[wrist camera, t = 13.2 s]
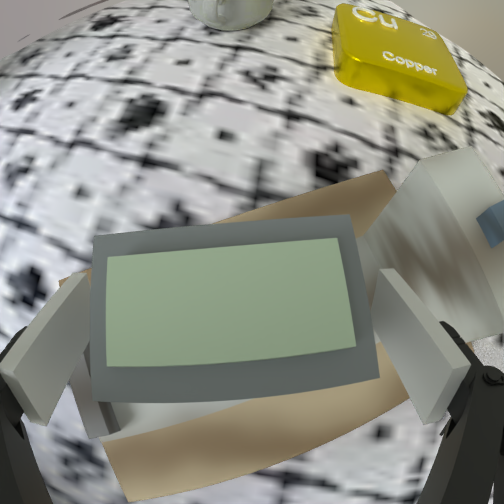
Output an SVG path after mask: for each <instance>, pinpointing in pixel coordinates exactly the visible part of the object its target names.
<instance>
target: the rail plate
mask: <svg viewBox="0 0 504 504" xmlns="http://www.w3.org/2000/svg"><path fill="white" fill-rule="evenodd" d="M346 214H350V217H351V222H352V226H353V230H354V234H355V238H356V243H357V247H358V252H359V256H360V261H361V266H362V271H363V276H364V281H365V286H366V291H367V296H368V302H369V307H370V312H371V307H372V303H373V298H374V293H375V288H376V283H377V277H378V272H379V269H391V268H394V269H395V270H396V271H397V273H398V274H399V275H400V276H401V277H402V278H403V279H404V281H405V282H406V283H407V284H408V285H409V286H410V288H411V289H412V290H413V291H414V292H415V294H416V295H417V296H418V297H419V298H420V300H421V301H422V302H423V303H424V304H425V306H426V307H427V308H428V309H429V310H430V312H431V313H432V314H433V315H434V317H435V318H436V319H437V320H438V322H440V321H445V322H446V323H448V324H449V325H450V326H452V327H453V328H454V329H455V330H456V331H457V332H458V334H459V335H460V338H461V337H462V339H463V340H464V341H465V344H467V345H468V346H469V348H470V349H471V350H472V351H473V353H474V349H473V347H472V344H471V341H475V340H479V339H482V338H486V337H490V336H494V335H497V334H501V333H504V195H503V194H502V192H501V190H500V189H499V187H498V185H497V184H496V182H495V181H494V179H493V177H492V176H491V174H490V173H489V171H488V170H487V168H486V167H485V165H484V164H483V162H482V161H481V159H480V158H479V156H478V155H477V153H476V152H475V151H474V149H473V148H472V146H470V147H466V148H462V149H458V150H454V151H450V152H447V153H443V154H439V155H435V156H432V157H428V158H424V159H421V160H419V161H418V163H417V164H416V166H415V167H414V169H413V170H412V171H411V173H410V174H409V176H408V177H407V178H406V180H405V181H404V182H403V184H402V185H401V187H400V188H399V189H398V191H396V190H395V188H394V186H393V185H392V183H391V182H390V180H389V178H388V177H387V175H386V174H385V172H384V171H383V170H380V171H377V172H373V173H370V174H367V175H363V176H360V177H356V178H353V179H350V180H346V181H343V182H340V183H337V184H333V185H330V186H327V187H323V188H320V189H317V190H314V191H311V192H307V193H304V194H301V195H298V196H295V197H292V198H288V199H285V200H282V201H279V202H276V203H273V204H270V205H267V206H264V207H261V208H258V209H255V210H252V211H249V212H246V213H243V214H240V215H237V216H234V217H231V218H228V219H225V220H222V221H219V222H216V223H213V224H220V223H232V222H244V221H257V220H270V219H284V218H298V217H313V216H329V215H346ZM91 269H92V268H90V269H87V270H85V271H82V272H79V273H87V276H88V280H89V284H90V287H91ZM69 277H70V276H69ZM69 277H67V278H64V279H62V280H59V286H60V287H61V286H62V285H63V283H64V282H65V281H66V280H67V279H68V278H69ZM373 331H374V338H375V344H376V351H377V358H378V366H379V374H380V378H377V379H373V380H368V381H364V382H359V383H354V384H349V385H344V386H338V387H333V388H327V389H321V390H315V391H309V392H302V393H295V394H288V395H280V396H271V397H262V398H253V399H242V400H229V401H214V402H193V403H120V402H100V401H92V387H91V370H90V341H89V343H88V345H87V346H86V348H85V350H84V352H83V354H82V356H81V358H80V359H79V361H78V363H77V365H76V367H75V369H74V371H73V373H72V375H71V377H70V379H69V380H70V384H71V387H72V391H73V394H74V397H75V401H76V404H77V407H78V410H79V413H80V416H81V419H82V422H83V425H84V427H85V430H86V433H87V436H88V438H89V439H92V438H97V437H99V439H100V442H101V443H102V444H103V447H104V449H105V452H106V454H107V456H108V459H109V461H110V464H111V466H112V468H113V470H114V473H115V475H116V477H117V479H118V481H119V484H120V486H121V488H122V490H123V492H124V494H125V496H126V498H127V500H128V502H134V501H140V500H146V499H152V498H157V497H163V496H168V495H172V494H177V493H182V492H186V491H190V490H194V489H198V488H202V487H206V486H210V485H214V484H217V483H221V482H224V481H227V480H231V479H234V478H237V477H240V476H244V475H247V474H250V473H253V472H256V471H258V470H261V469H264V468H267V467H270V466H272V465H275V464H278V463H280V462H283V461H285V460H288V459H290V458H293V457H295V456H298V455H300V454H303V453H305V452H307V451H310V450H312V449H314V448H317V447H319V446H321V445H323V444H325V443H327V442H330V441H332V440H334V439H336V438H338V437H340V436H342V435H344V434H346V433H348V432H350V431H352V430H354V429H356V428H358V427H360V426H362V425H364V424H366V423H367V422H369V421H371V420H373V419H375V418H377V417H378V416H380V415H382V414H384V413H385V412H387V411H389V410H391V409H392V408H394V407H396V406H397V405H399V404H401V403H402V402H404V401H405V400H407V399H409V398H410V397H409V395H408V393H407V391H406V389H405V387H404V385H403V383H402V381H401V379H400V377H399V375H398V373H397V371H396V369H395V367H394V365H393V363H392V362H391V360H390V358H389V356H388V354H387V352H386V350H385V348H384V346H383V345H382V343H381V341H380V339H379V337H378V335H377V334H376V332H375V330H374V328H373Z"/></svg>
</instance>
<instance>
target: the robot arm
mask: <svg viewBox="0 0 504 504" xmlns="http://www.w3.org/2000/svg"><path fill="white" fill-rule="evenodd" d="M370 313H371V319H372V325H373V328H374V330H375V332H376V334H377V335H378V337H379V339H380V341H381V343H382V345H383V346H384V348H385V350H386V352H387V354H388V356H389V358H390V360H391V362H392V363H393V365H394V367H395V369H396V371H397V373H398V375H399V377H400V379H401V381H402V383H403V385H404V387H405V389H406V391H407V393H408V395H409V397H410V399H411V401H412V403H413V405H414V407H415V409H416V411H417V413H418V415H419V417H420V419H421V421H422V423H423V425H425V424H429V423H433V422H436V421H440V420H441V419H442V417H443V415H444V414H445V412H446V410H448V412H449V413H450V415H451V418H450V419H449V421H448V422H447V424H446V425H445V427H444V429H443V430H442V432H441V433H440V435H441V436H442V435H443V434H444V435H443V438H442V441H441V444H440V447H439V450H438V453H437V456H436V458H435V461H434V464H433V466H432V469H431V471H430V474H429V476H428V479H427V481H426V484H425V486H424V488H423V491H422V493H421V495H420V497H419V499H418V502H417V504H488V501H489V497H490V494H491V490H492V486H493V482H494V494H493V504H504V373H503V372H501V371H500V370H499V369H497V368H495V367H493V366H483V364H482V363H481V362H480V360H479V359H478V358H477V357H476V355H475V354H474V353H473V351H472V350H471V349H470V348H469V346H468V345H467V344H465V341H464V340H463V339H462V337H461V338H460V335H459V334H458V332H457V331H456V330H455V329H454V328H453V327H452V326H450V325H449V324H448V323H446V322H445V321H440V322H438V320H437V319H436V318H435V317H434V315H433V314H432V313H431V312H430V310H429V309H428V308H427V307H426V306H425V304H424V303H423V302H422V301H421V300H420V298H419V297H418V296H417V295H416V294H415V292H414V291H413V290H412V289H411V288H410V286H409V285H408V284H407V283H406V282H405V281H404V279H403V278H402V277H401V276H400V275H399V274H398V273H397V271H396V270H395V269H394V268H391V269H379V272H378V277H377V283H376V288H375V293H374V298H373V303H372V307H371V312H370ZM89 341H90V284H89V280H88V276H87V273H72V274H71V276H70V277H69V278H68V279H67V280H66V281H65V282H64V283H63V285H62V286H61V287H60V288H59V289H58V290H57V292H56V293H55V294H54V295H53V296H52V297H51V299H50V300H49V301H48V302H47V303H46V305H45V306H44V307H43V308H42V309H41V311H40V312H39V313H38V314H37V316H36V317H35V318H34V319H33V321H32V322H31V323H30V324H29V326H25V327H24V328H23V329H21V330H20V331H18V332H17V333H16V334H15V335H14V337H13V338H12V339H11V341H10V343H8V345H7V346H6V347H5V349H4V350H3V351H2V352H1V354H0V504H53V502H52V500H51V498H50V496H49V493H48V491H47V489H46V486H45V484H44V481H43V479H42V476H41V474H40V471H39V468H38V466H37V463H36V460H35V457H34V454H33V451H32V448H31V445H30V442H29V439H28V436H27V433H26V429H25V426H24V423H23V422H22V420H21V419H20V418H21V416H22V414H23V412H24V413H25V414H26V416H27V417H28V419H29V420H30V422H32V423H35V424H39V425H43V426H47V424H48V422H49V420H50V418H51V415H52V413H53V411H54V409H55V407H56V405H57V403H58V401H59V399H60V397H61V395H62V393H63V391H64V389H65V387H66V385H67V383H68V381H69V379H70V377H71V375H72V373H73V371H74V369H75V367H76V365H77V363H78V361H79V359H80V358H81V356H82V354H83V352H84V350H85V348H86V346H87V345H88V343H89Z"/></svg>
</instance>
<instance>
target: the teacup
mask: <svg viewBox="0 0 504 504" xmlns="http://www.w3.org/2000/svg"><path fill="white" fill-rule="evenodd" d="M273 1H274V0H188V3H189V8H190V11H191V13H192V15H193V16H194V17H195V18H196V19H197V20H199V21H201V22H202V23H204V24H205V25H207V26H209V27H211V28H214V29H219V30H227V31H234V30H242V29H246V28H249V27H251V26H253V25H255V24H257V23H259V22H261V21H262V20H264V19H265V18H266V17H267V16H268V15H269V13H270V11H271V9H272V5H273Z"/></svg>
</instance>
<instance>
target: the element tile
mask: <svg viewBox="0 0 504 504" xmlns="http://www.w3.org/2000/svg"><path fill="white" fill-rule="evenodd" d="M331 30H332V43H333V58H334V73H335V76H336V78H337V79H338V80H339V81H340V82H341V83H343V84H344V85H347V86H349V87H351V88H355V89H359V90H363V91H367V92H371V93H375V94H379V95H383V96H386V97H390V98H394V99H397V100H401V101H404V102H407V103H411V104H414V105H417V106H420V107H424V108H427V109H430V110H433V111H436V112H438V113H441V114H445V115H453V114H454V113H455V111H456V110H457V108H458V107H459V105H460V104H461V102H462V101H463V99H464V97H465V96H466V94H467V91H468V89H467V86H466V83H465V81H464V79H463V77H462V75H461V73H460V71H459V69H458V67H457V65H456V63H455V61H454V59H453V57H452V55H451V54H450V52H449V50H448V48H447V46H446V45H445V43H444V41H443V39H442V38H441V37H440V35H439V34H438V33H437V32H435V31H434V30H431V29H429V28H426V27H424V26H421V25H418V24H415V23H413V22H410V21H407V20H404V19H401V18H397V17H394V16H391V15H388V14H384V13H381V12H377V11H374V10H370V9H367V8H363V7H358V6H354V5H350V4H344V3H342V4H340V5H338V6H337V7H336V10H335V15H334V19H333V24H332V28H331Z"/></svg>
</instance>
